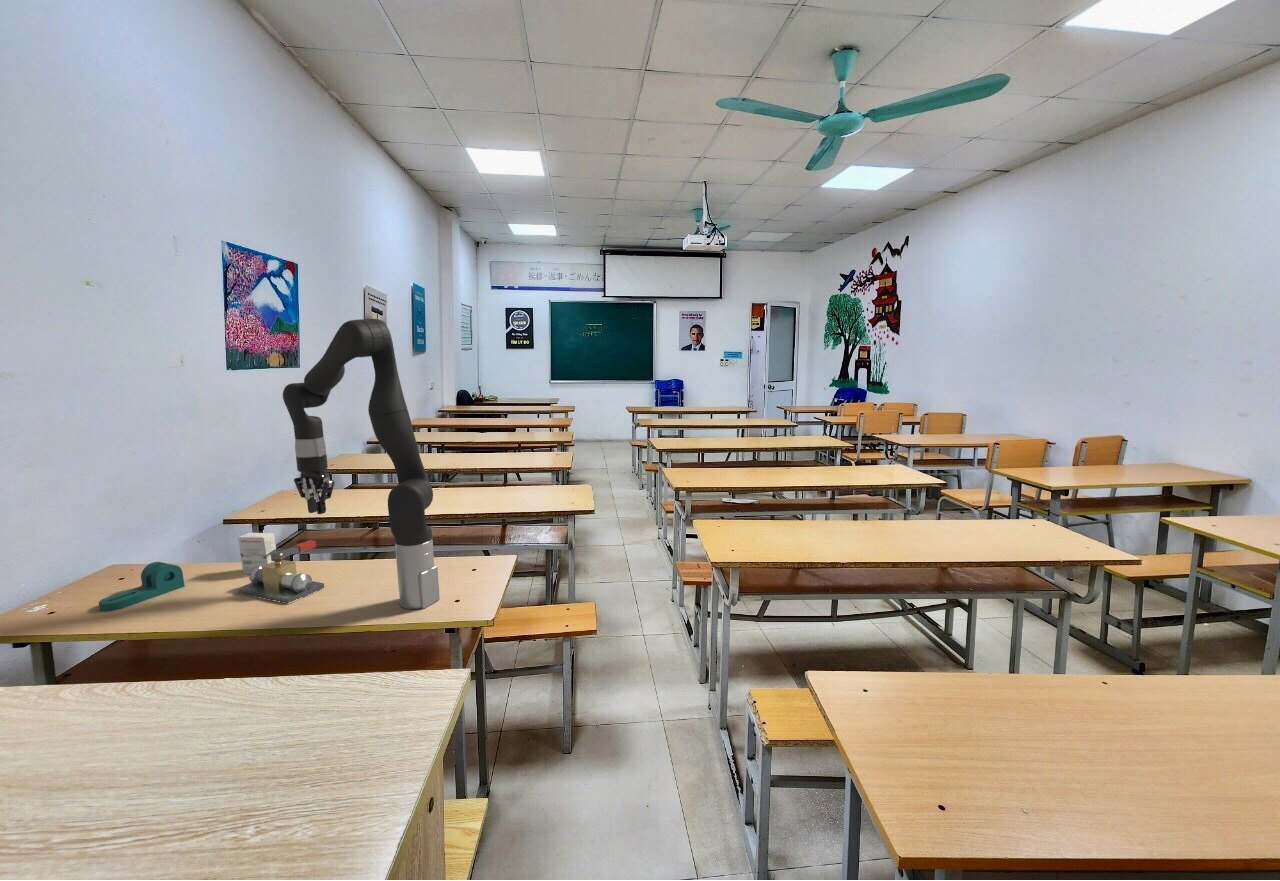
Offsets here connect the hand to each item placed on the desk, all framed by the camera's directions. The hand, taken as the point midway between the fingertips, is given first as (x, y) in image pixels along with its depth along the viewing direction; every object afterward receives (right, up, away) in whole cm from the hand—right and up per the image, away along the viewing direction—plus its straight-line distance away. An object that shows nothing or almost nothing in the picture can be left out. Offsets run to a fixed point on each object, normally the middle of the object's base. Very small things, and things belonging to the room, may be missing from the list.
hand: (317, 512), depth 165 cm
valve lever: (-7, -12, +1) cm, 14 cm away
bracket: (-46, -23, -5) cm, 52 cm away
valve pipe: (-9, -22, -2) cm, 24 cm away
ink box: (-25, -20, +13) cm, 34 cm away
